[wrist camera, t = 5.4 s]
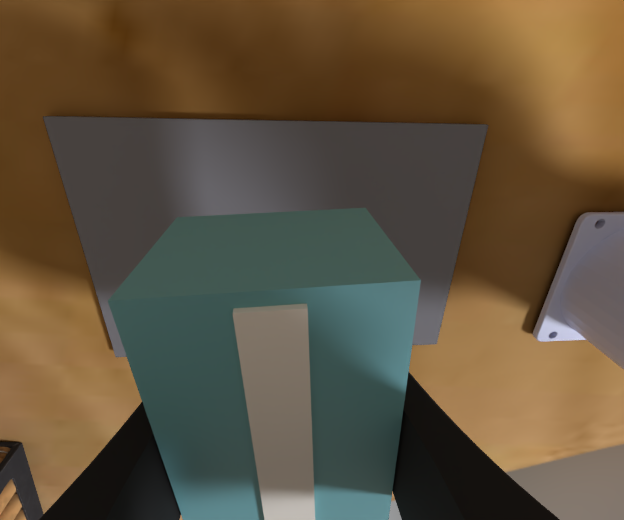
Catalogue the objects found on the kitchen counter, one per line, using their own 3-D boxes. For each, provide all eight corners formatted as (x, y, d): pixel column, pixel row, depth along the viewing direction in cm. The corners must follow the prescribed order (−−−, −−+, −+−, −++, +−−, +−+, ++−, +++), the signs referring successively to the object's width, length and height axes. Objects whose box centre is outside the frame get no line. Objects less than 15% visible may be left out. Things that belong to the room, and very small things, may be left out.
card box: (354, 431, 13) (384, 563, 9) (224, 443, 13) (202, 586, 9) (365, 207, 9) (424, 284, 5) (177, 217, 9) (103, 306, 5)
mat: (483, 124, 15) (488, 125, 15) (433, 339, 20) (436, 344, 20) (49, 116, 13) (42, 116, 13) (118, 352, 19) (115, 357, 18)
